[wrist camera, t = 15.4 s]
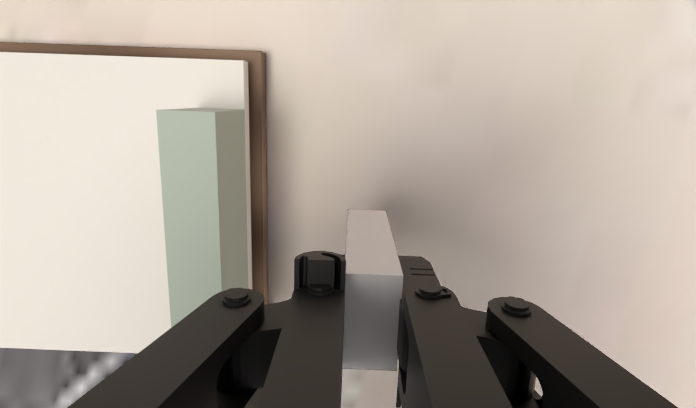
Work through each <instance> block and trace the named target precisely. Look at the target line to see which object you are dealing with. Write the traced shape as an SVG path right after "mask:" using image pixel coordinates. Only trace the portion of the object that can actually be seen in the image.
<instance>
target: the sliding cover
mask: <svg viewBox="0 0 696 408" xmlns="http://www.w3.org/2000/svg"><path fill="white" fill-rule="evenodd" d="M230 288H235V289H236V288H243V289H252V243H251V191H250V139H249V87H248V62H246V61H244V60H217V59H188V58H159V57H131V56H102V55H73V54H45V53H16V52H0V348H23V349H48V350H73V351H98V352H122V353H139V352H140V351H142V350H143V349H144V348H146V347H147V346H148V345H150V344H151V343H152V342H153V341H155V340H156V339H157V338H159V337H160V336H161V335H163V334H164V333H165V332H166V331H168V330H169V329H170V328H172V327H173V326H174V325H176V324H177V323H178V322H179V321H181V320H182V319H183V318H185V317H186V316H187V315H188V314H190V313H191V312H192V311H194V310H195V309H196V308H198V307H199V306H200V305H201V304H203V303H204V302H205V301H207V300H208V299H209V298H211V297H212V296H213V295H215V294H217V293H219V292H222V291H225V290H228V289H230Z"/></svg>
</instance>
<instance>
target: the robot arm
mask: <svg viewBox="0 0 696 408" xmlns="http://www.w3.org/2000/svg"><path fill="white" fill-rule="evenodd" d="M398 359H399V373H398V387H397V401H396V408H400V407H401V406H402V408H678V407H676V406H675V405H674V404H672V403H671V402H669V401H668V400H667V399H665V398H664V397H663V396H661V395H660V394H658V393H657V392H656V391H654V390H653V389H652V388H650V387H649V386H647V385H646V384H645V383H643V382H642V381H641V380H639V379H638V378H636V377H635V376H634V375H632V374H631V373H630V372H628V371H627V370H625V369H624V368H623V367H621V366H620V365H618V364H617V363H616V362H614V361H613V360H612V359H610V358H609V357H607V356H606V355H605V354H603V353H602V352H601V351H599V350H598V349H596V348H595V347H594V346H592V345H591V344H590V343H588V342H587V341H585V340H584V339H583V338H581V337H580V336H579V335H577V334H576V333H574V332H573V331H572V330H570V329H569V328H568V327H566V326H565V325H563V324H562V323H561V322H559V321H558V320H557V319H555V318H554V317H552V316H551V315H550V314H548V313H547V312H546V311H544V310H543V309H541V308H540V307H538V306H536V305H535V304H533V303H531V302H528V301H525V300H524V299H521V298H517V297H516V298H515V297H500V298H495V299H492V300H491V301H489V302H488V309H487V313H486V312H481V311H476V310H471V309H467V308H464V307H461V305H460V303H459V301H458V299H457V297H456V295H455V294H454V293H453V292H452V291H451V290H449V289H448V288H445V287H443V286H440V283H439V281H438V279H437V277H436V276H435V272H434V270H433V268H432V266H431V264H430V262H428V261H427V260H425V259H424V258H422V257H416V256H398V254H397V250H396V247H395V243H394V239H393V236H392V232H391V228H390V225H389V221H388V217H387V214H386V211H382V210H356V209H348V221H347V237H346V253H345V255H340V254H337V253H333V252H326V251H312V252H306V253H303V254H300V255H298V256H297V257H296V258H295V260H294V291H293V295H292V298H291V299H289V300H287V301H283V302H279V303H273V304H265V305H264V297H263V294H261V293H260V292H258V291H256V290H252V289H243V288H236V289H235V288H230V289H228V290H225V291H222V292H219V293H217V294H215V295H213V296H212V297H211V298H209V299H208V300H207V301H205V302H204V303H203V304H201V305H200V306H199V307H198V308H196V309H195V310H194V311H192V312H191V313H190V314H188V315H187V316H186V317H185V318H183V319H182V320H181V321H179V322H178V323H177V324H176V325H174V326H173V327H172V328H170V329H169V330H168V331H166V332H165V333H164V334H163V335H161V336H160V337H159V338H157V339H156V340H155V341H153V342H152V343H151V344H150V345H148V346H147V347H146V348H144V349H143V350H142V351H140V352H139V353H138V354H137V355H135V356H134V357H133V358H131V359H130V360H129V361H127V362H126V363H125V364H124V365H122V366H121V367H120V368H118V369H117V370H116V371H114V372H113V373H112V374H111V375H109V376H108V377H107V378H105V379H104V380H103V381H101V382H100V383H99V384H98V385H96V386H95V387H94V388H92V389H91V390H90V391H88V392H87V393H86V394H85V395H83V396H82V397H81V398H79V399H78V400H77V401H76V402H74V403H73V404H72V405H70V406H69V407H68V408H341V387H342V369H367V370H391V371H397V360H398ZM536 377H537V378H538V380H539V382H540V384H541V387H542V391H543V396H542V397H541V396H540V395H539V394H538V393H537V392H536V391H535V390H534V386H535V380H536Z"/></svg>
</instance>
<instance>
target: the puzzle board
mask: <svg viewBox="0 0 696 408" xmlns="http://www.w3.org/2000/svg"><path fill="white" fill-rule="evenodd" d="M0 52H16V53H45V54H73V55H102V56H131V57H159V58H188V59H217V60H244V61H246V62H248V87H249V139H250V191H251V243H252V290H256V291H258V292H260V293H261V294H263V297H264V305H265V304H268V262H267V163H266V65H265V53H264V52H262V51H244V50H215V49H186V48H157V47H129V46H100V45H71V44H42V43H13V42H0Z"/></svg>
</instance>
